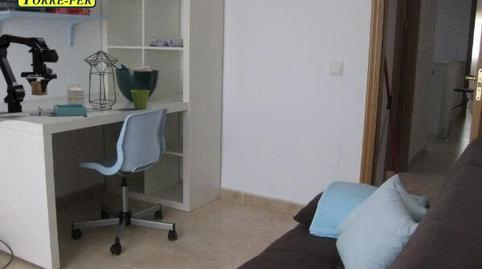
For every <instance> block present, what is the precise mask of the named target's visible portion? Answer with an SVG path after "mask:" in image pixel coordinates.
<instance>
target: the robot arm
mask: <svg viewBox="0 0 482 269" xmlns="http://www.w3.org/2000/svg"><path fill="white" fill-rule="evenodd" d="M11 43H13V44H18V45H24V46H27V47H28V48H30V50H29V49H28V52H27V53H29V54H31V63H30V66H31V67H32V71H21V73H20V78H24V79H25V80H27V82H28V84H29V85H30V86H31V82H32V81H38V78H41V79H39V81H41V85H42V90H43V92H45V91H46V88H47V89H48V84H50V83H49V82H50V81H53V80H57V79H58V74H56V72H55V73H53V69H52V68H50V67H48V66H47V63H52V64H55V63H56V64H57V63H58V62H59V57H60V56H59V54H58V52H57V50H56V49H50V47H49V46H48V44H47V42H46V40H45V38H43V37H37V36H32V37H31V36H30V37H25V36H19V35H15V34H9V33H4V34H2V35H0V71H1V73H2V76H3V78H4V80H5V83H6V94H7V95H6V96H5V97H4V98H3V103H4V104H7V114H18V113H23V106H22V104H21V103H23V102H24V99H25V97H26V90H25V87H24V85H23V84H19V83H18V82H17V79H16V77H15V75H14V73H13V70H12V67H11V64H10V62H9V60H8V48H10V46H11Z"/></svg>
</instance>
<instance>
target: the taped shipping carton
mask: <svg viewBox="0 0 482 269" xmlns="http://www.w3.org/2000/svg"><path fill="white" fill-rule="evenodd" d="M30 88H31V96H39V97H40V96H47V95H48V87H47V88H46V91H45V92H43V90H42V85H41V80H36V81H32V82H31V85H30Z"/></svg>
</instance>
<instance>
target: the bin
mask: <svg viewBox="0 0 482 269" xmlns="http://www.w3.org/2000/svg"><path fill="white" fill-rule="evenodd" d="M53 113H54V114H55V115H56V116H57V117H71V116H72V117H74V116H83V118H87V117H88V108H87V107H86V106H85V104H84V105H82V104H71V105H68V104H53Z"/></svg>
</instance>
